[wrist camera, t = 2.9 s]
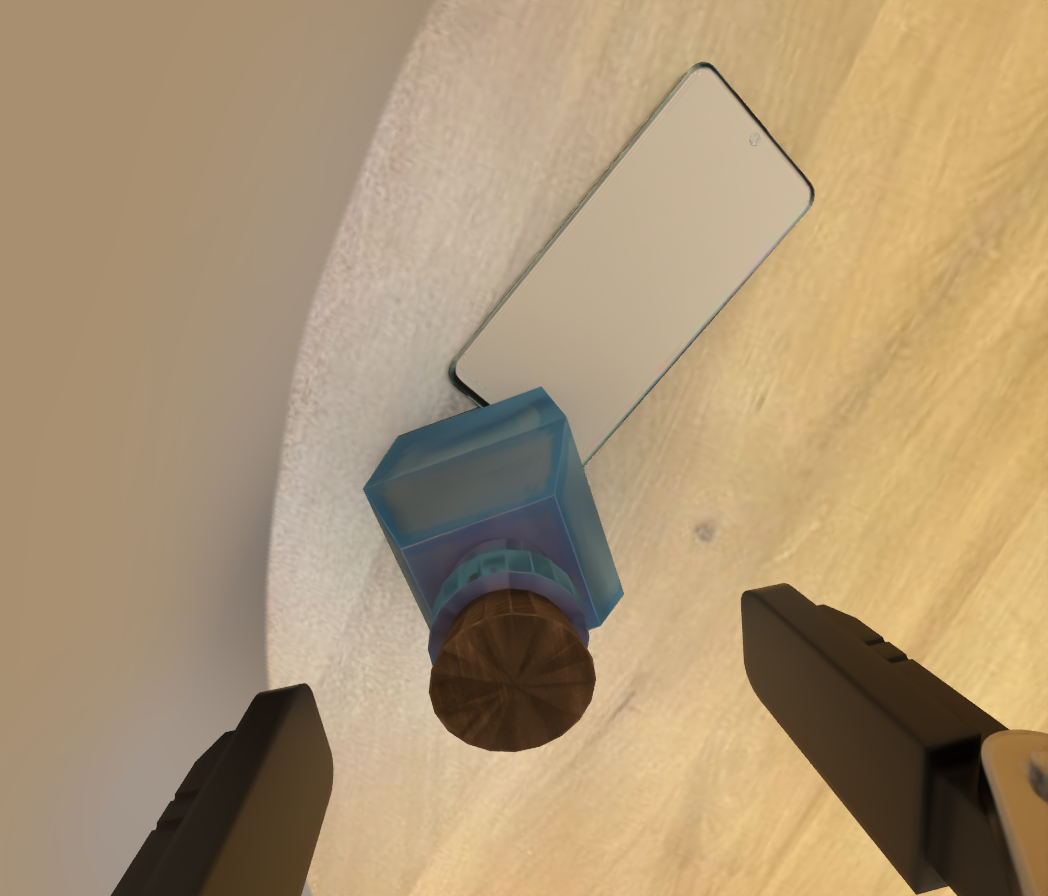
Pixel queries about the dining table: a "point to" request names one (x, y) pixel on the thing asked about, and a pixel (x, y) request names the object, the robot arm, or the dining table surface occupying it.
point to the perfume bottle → (500, 567)
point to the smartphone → (641, 263)
